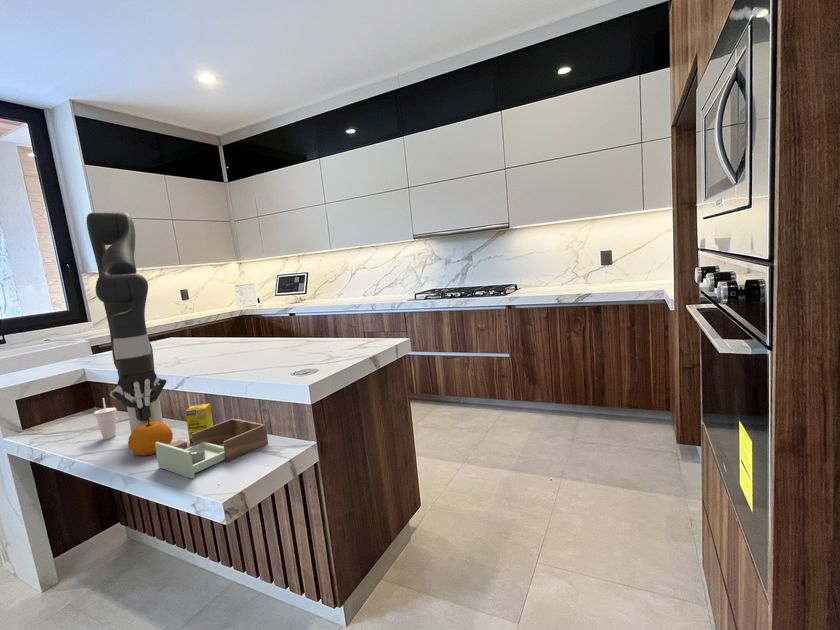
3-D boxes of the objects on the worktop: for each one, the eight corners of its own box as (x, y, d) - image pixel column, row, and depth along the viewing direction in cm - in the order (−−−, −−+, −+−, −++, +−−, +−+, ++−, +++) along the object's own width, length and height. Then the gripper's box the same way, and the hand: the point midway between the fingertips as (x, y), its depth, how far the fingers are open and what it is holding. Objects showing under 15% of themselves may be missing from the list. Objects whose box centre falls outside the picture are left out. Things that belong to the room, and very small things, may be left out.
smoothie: (121, 432, 152) (115, 394, 150) (120, 437, 147) (113, 398, 145) (99, 437, 149) (92, 398, 147) (97, 442, 143) (90, 402, 142)
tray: (158, 466, 118) (154, 442, 117) (202, 448, 129) (199, 426, 128) (191, 478, 109) (187, 452, 108) (236, 457, 120) (232, 434, 119)
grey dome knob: (197, 454, 122) (196, 446, 122) (209, 458, 119) (208, 449, 119) (176, 463, 117) (175, 455, 117) (188, 467, 114) (187, 458, 113)
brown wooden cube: (167, 457, 125) (165, 445, 124) (181, 452, 128) (179, 439, 128) (175, 460, 123) (173, 447, 122) (188, 454, 126) (186, 441, 125)
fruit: (157, 441, 139) (152, 412, 138) (183, 444, 135) (178, 414, 134) (121, 457, 128) (115, 426, 127) (147, 461, 124) (142, 428, 123)
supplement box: (189, 444, 134) (184, 411, 133) (195, 437, 140) (191, 405, 139) (209, 441, 135) (204, 408, 134) (214, 434, 141) (210, 402, 140)
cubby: (194, 453, 127) (191, 433, 126) (235, 435, 138) (232, 418, 137) (227, 462, 118) (224, 442, 117) (268, 443, 129) (265, 424, 128)
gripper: (153, 348, 113) (163, 410, 115) (96, 359, 102) (107, 428, 104) (168, 349, 109) (178, 413, 111) (109, 360, 98) (121, 432, 100)
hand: (144, 420), depth 108 cm, fingers closed
